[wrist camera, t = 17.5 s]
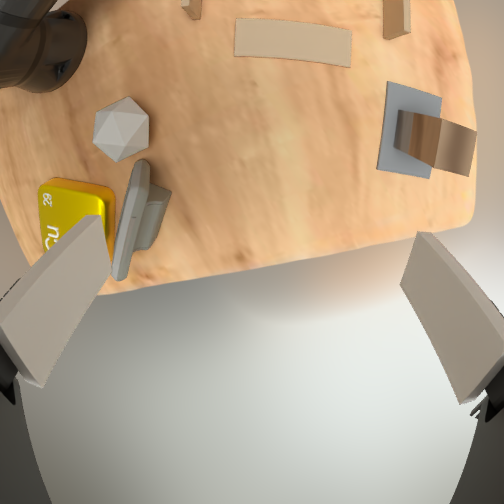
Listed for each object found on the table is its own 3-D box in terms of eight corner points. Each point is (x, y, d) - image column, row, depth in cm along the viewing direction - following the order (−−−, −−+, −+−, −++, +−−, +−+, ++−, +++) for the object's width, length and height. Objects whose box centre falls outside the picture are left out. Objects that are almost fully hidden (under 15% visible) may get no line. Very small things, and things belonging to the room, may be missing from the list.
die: (133, 86, 35) (76, 107, 29) (168, 101, 33) (104, 125, 27) (134, 131, 41) (83, 155, 36) (166, 151, 39) (111, 180, 33)
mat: (376, 168, 40) (377, 169, 40) (387, 81, 33) (388, 81, 32) (427, 178, 40) (429, 179, 40) (440, 97, 33) (441, 97, 32)
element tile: (115, 262, 50) (105, 277, 46) (54, 245, 49) (42, 257, 45) (117, 187, 43) (103, 198, 39) (50, 175, 41) (34, 184, 37)
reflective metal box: (393, 147, 38) (433, 167, 27) (398, 109, 34) (442, 118, 24) (424, 154, 38) (468, 176, 27) (429, 118, 34) (477, 131, 24)
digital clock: (143, 151, 40) (111, 170, 31) (191, 182, 42) (171, 209, 33) (105, 229, 47) (75, 261, 37) (145, 255, 49) (124, 292, 40)
